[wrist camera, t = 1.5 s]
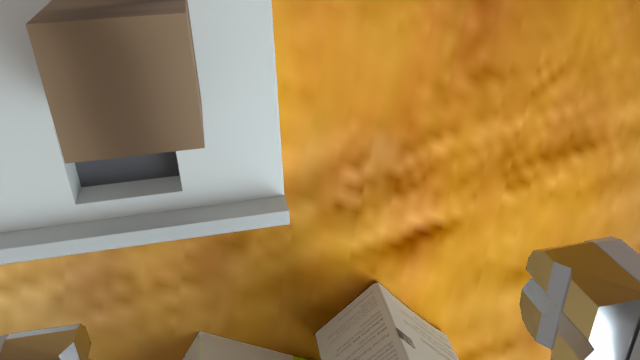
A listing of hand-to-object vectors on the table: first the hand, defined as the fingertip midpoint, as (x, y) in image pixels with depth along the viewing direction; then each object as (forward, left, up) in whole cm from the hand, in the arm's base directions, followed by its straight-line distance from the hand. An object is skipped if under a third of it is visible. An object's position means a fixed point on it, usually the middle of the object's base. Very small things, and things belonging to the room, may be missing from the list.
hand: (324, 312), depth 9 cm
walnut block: (+4, 0, -18) cm, 18 cm away
